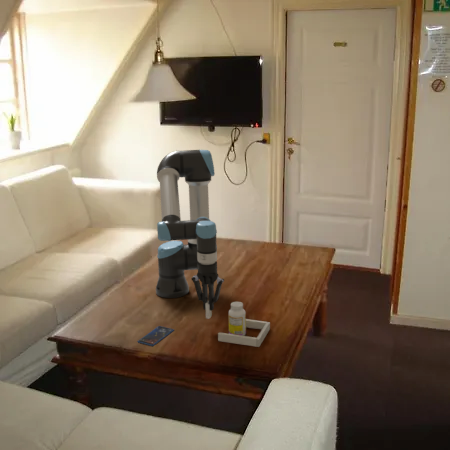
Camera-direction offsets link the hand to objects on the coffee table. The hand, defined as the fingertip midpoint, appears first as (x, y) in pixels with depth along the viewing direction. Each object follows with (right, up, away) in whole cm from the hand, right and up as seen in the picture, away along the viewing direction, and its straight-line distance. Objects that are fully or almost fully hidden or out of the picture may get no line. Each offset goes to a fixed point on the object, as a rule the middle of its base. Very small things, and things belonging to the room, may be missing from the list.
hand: (208, 317), depth 229 cm
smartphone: (-20, -7, -3) cm, 22 cm away
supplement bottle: (+11, -6, -3) cm, 13 cm away
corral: (+13, -6, -4) cm, 15 cm away
